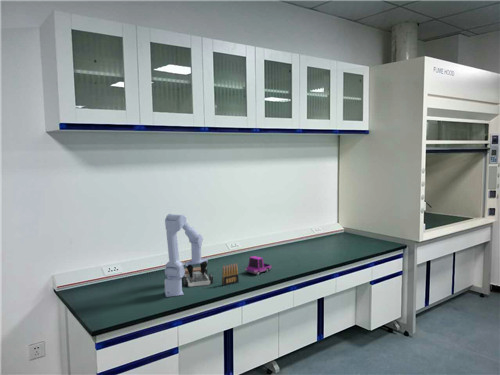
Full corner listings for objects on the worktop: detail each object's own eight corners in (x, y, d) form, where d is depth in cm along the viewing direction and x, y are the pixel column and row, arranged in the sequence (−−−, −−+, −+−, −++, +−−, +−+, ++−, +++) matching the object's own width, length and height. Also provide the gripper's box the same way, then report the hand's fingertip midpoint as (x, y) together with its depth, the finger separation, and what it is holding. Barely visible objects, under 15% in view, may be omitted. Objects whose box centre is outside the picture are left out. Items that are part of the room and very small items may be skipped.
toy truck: (244, 273, 262) (244, 258, 261) (260, 267, 274) (260, 253, 273) (256, 276, 255) (256, 260, 254) (272, 270, 267) (272, 255, 266)
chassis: (185, 287, 236) (185, 279, 235) (179, 275, 259) (179, 267, 259) (213, 284, 241) (213, 276, 240) (205, 272, 264) (205, 264, 264)
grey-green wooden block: (196, 282, 243) (196, 274, 243) (192, 280, 247) (192, 272, 247) (202, 281, 246) (202, 273, 245) (198, 279, 250) (198, 271, 249)
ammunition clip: (237, 281, 246) (236, 262, 244) (238, 282, 244) (238, 262, 243) (221, 285, 240) (221, 265, 238) (223, 286, 238) (223, 265, 237)
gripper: (188, 257, 238) (189, 279, 239) (210, 253, 246) (210, 275, 248) (183, 254, 244) (183, 276, 245) (204, 250, 252) (204, 272, 253)
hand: (196, 275), depth 247 cm, fingers open, 7 cm apart
